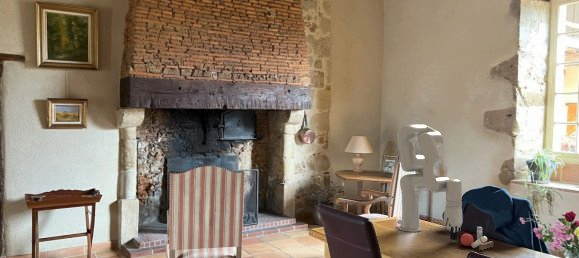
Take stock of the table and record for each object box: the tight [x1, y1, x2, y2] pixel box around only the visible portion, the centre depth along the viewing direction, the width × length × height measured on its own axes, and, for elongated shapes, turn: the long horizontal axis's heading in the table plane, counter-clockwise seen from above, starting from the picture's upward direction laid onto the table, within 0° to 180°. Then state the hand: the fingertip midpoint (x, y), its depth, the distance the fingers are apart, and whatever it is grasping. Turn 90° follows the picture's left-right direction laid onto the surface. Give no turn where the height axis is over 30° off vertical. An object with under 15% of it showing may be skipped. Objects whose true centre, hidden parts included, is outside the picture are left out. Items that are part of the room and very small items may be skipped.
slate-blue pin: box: [476, 226, 483, 241], centre depth 224 cm, size 2×2×8 cm
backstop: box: [478, 240, 494, 251], centre depth 217 cm, size 1×11×2 cm, turn 127°
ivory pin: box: [470, 235, 488, 249], centre depth 215 cm, size 2×2×8 cm
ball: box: [460, 233, 475, 247], centre depth 222 cm, size 6×6×6 cm
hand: (453, 239), depth 228 cm, fingers closed
